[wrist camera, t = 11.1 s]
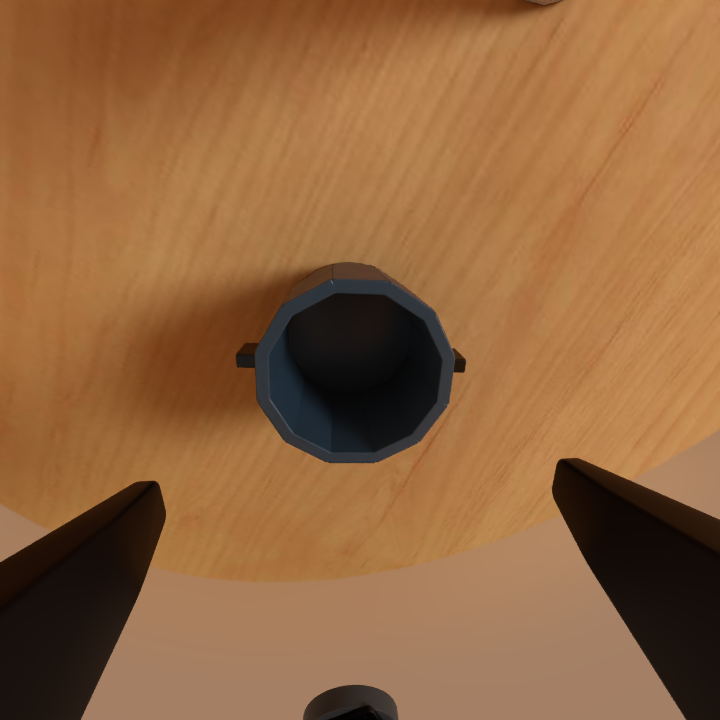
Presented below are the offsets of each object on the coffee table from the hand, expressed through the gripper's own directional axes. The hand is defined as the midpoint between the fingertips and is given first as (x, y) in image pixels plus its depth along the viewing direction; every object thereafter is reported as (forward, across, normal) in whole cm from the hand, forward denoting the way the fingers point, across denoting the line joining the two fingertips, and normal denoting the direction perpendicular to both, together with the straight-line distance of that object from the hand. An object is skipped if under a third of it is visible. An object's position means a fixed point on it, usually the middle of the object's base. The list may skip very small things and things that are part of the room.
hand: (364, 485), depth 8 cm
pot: (+9, 0, +3) cm, 10 cm away
